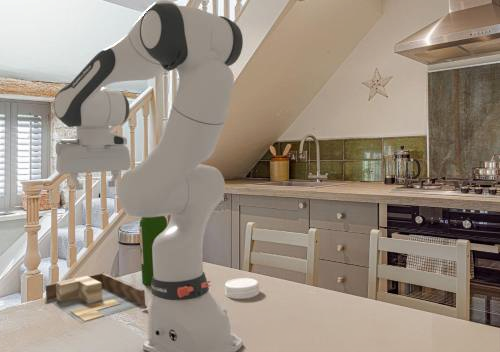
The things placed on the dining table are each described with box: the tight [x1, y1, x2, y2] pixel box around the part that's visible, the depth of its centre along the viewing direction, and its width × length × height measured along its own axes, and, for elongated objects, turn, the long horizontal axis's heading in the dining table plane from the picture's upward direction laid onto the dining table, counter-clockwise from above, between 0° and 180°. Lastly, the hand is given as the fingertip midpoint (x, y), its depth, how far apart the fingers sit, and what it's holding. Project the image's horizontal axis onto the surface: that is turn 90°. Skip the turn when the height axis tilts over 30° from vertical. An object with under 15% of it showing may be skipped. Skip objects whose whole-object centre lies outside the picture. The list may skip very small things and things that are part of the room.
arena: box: [45, 272, 146, 324], centre depth 122 cm, size 27×18×5 cm, turn 42°
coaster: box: [224, 277, 260, 300], centre depth 125 cm, size 10×10×4 cm
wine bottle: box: [138, 216, 169, 286], centre depth 138 cm, size 9×9×32 cm
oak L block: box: [55, 275, 102, 303], centre depth 124 cm, size 11×9×5 cm
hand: (96, 188), depth 121 cm, fingers open, 8 cm apart
